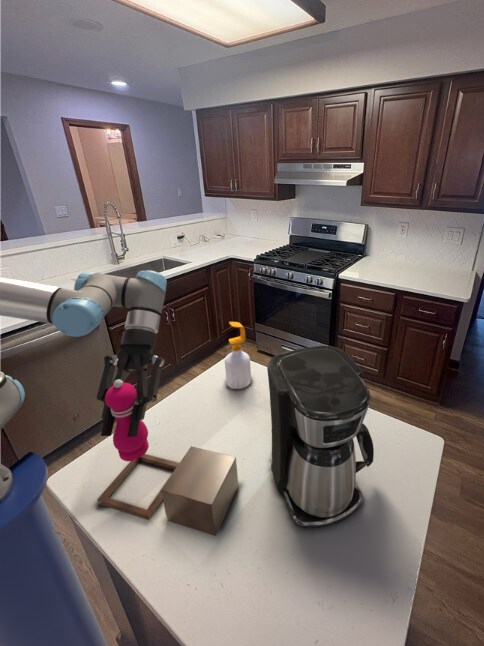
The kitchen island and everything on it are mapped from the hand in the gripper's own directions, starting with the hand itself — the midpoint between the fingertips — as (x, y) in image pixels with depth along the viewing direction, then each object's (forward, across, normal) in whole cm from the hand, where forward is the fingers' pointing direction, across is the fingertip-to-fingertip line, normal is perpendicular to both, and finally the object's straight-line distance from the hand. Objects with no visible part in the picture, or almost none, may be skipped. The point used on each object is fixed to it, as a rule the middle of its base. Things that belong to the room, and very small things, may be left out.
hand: (119, 436), depth 67 cm
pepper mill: (+3, 0, -9) cm, 9 cm away
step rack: (+13, -8, -15) cm, 22 cm away
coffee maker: (+7, -44, -21) cm, 49 cm away
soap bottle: (-18, -17, -47) cm, 53 cm away
